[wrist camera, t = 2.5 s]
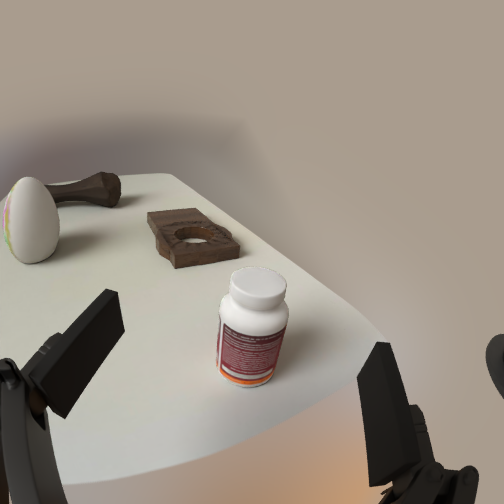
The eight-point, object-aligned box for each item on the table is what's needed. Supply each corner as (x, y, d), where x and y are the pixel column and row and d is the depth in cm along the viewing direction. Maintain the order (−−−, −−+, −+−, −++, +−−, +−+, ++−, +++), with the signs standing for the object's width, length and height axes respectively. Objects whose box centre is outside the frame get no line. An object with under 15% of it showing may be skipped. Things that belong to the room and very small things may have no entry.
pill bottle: (285, 376, 27) (311, 292, 22) (233, 398, 23) (245, 311, 19) (254, 340, 31) (269, 257, 26) (206, 355, 28) (209, 268, 23)
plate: (244, 257, 50) (246, 245, 49) (168, 270, 43) (168, 256, 42) (199, 217, 66) (200, 207, 65) (142, 223, 59) (142, 212, 58)
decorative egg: (26, 240, 44) (17, 173, 37) (71, 240, 47) (64, 167, 40) (1, 269, 33) (-15, 189, 27) (49, 270, 36) (35, 183, 30)
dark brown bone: (123, 209, 72) (44, 222, 65) (122, 174, 72) (44, 190, 65) (114, 201, 61) (27, 218, 55) (114, 162, 61) (28, 181, 54)
